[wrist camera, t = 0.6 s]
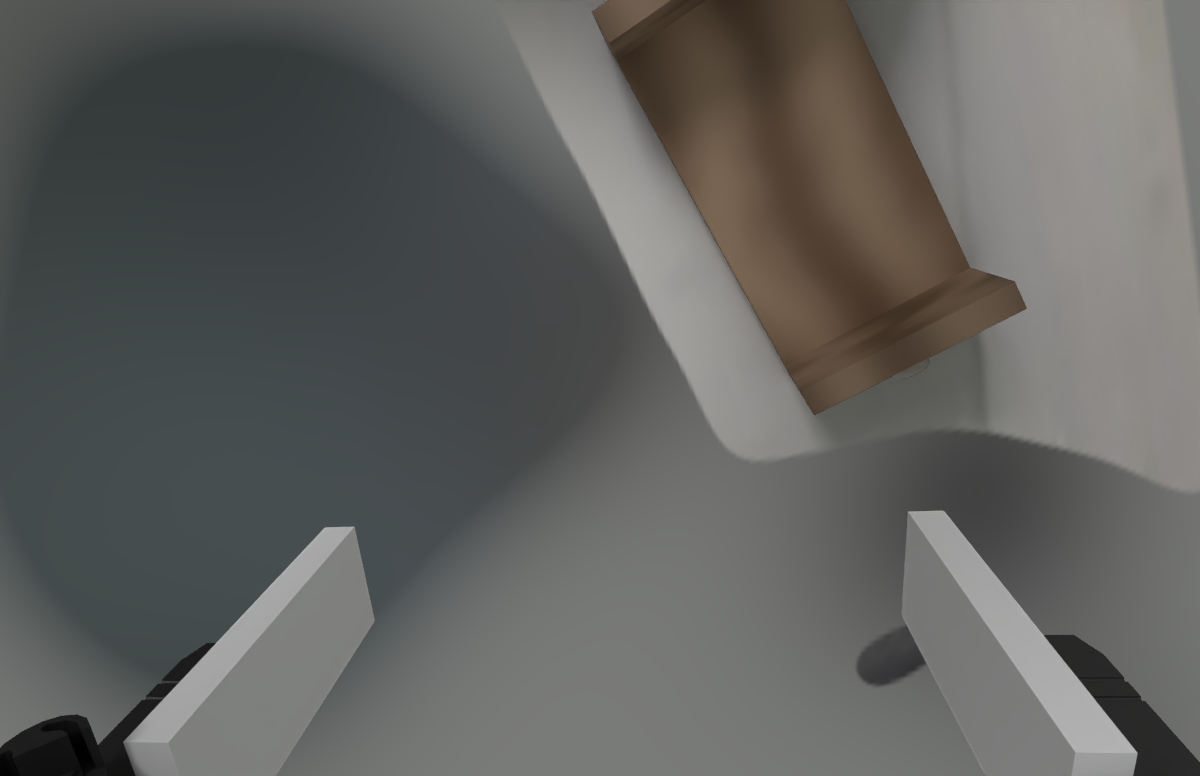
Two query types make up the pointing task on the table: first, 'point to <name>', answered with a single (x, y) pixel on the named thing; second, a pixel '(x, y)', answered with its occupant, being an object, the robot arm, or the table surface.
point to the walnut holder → (806, 184)
